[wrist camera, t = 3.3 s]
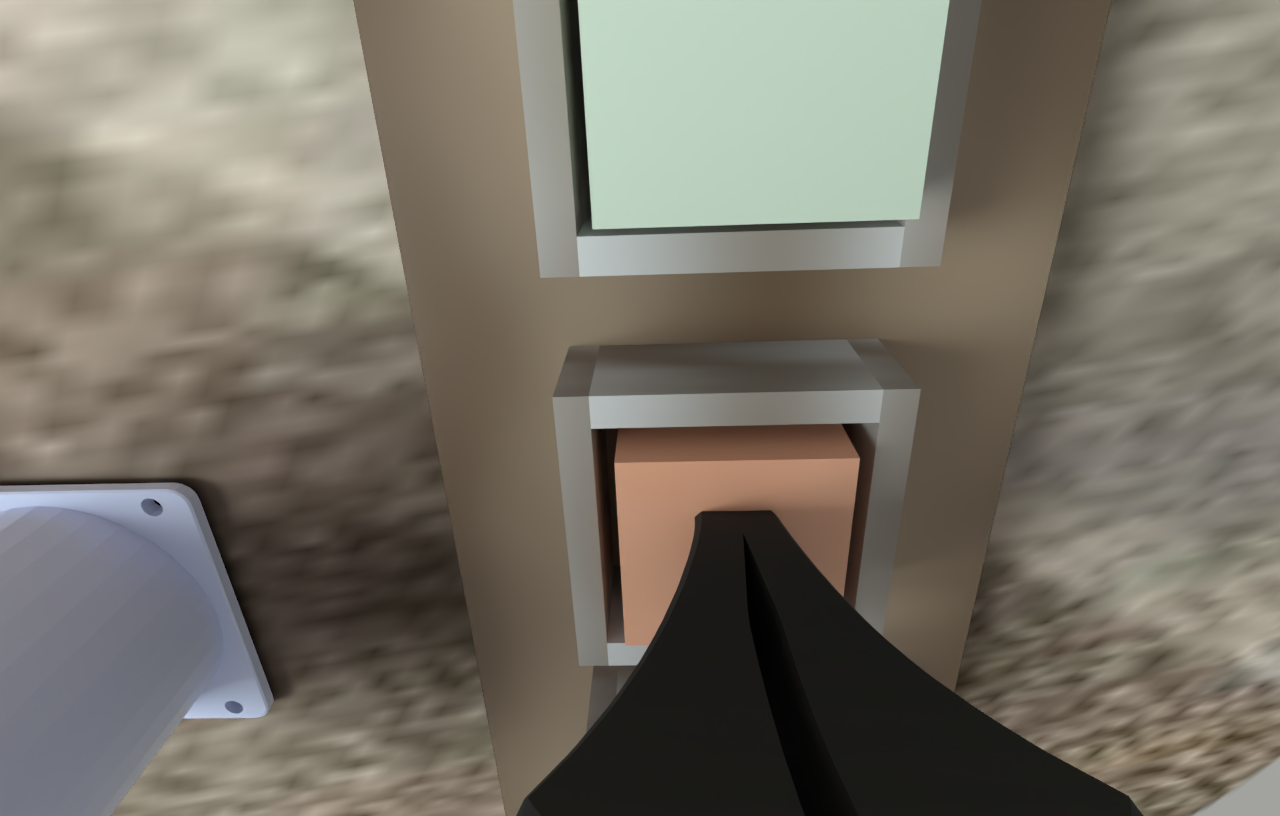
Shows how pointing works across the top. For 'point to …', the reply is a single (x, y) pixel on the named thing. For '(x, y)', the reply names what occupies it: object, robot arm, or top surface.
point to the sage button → (758, 109)
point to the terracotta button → (725, 500)
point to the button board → (706, 333)
